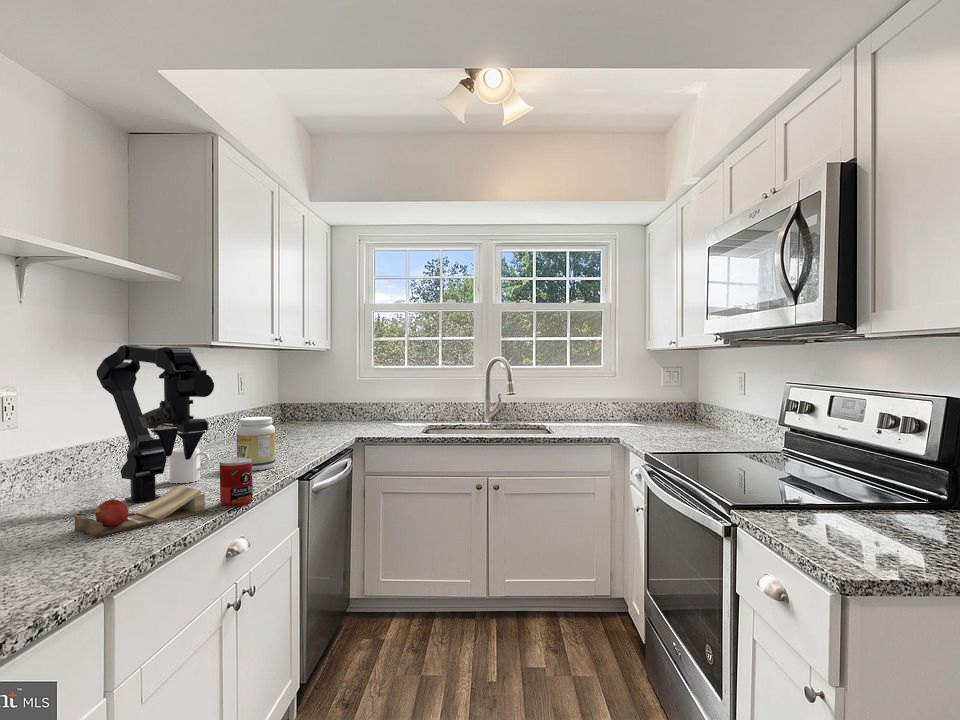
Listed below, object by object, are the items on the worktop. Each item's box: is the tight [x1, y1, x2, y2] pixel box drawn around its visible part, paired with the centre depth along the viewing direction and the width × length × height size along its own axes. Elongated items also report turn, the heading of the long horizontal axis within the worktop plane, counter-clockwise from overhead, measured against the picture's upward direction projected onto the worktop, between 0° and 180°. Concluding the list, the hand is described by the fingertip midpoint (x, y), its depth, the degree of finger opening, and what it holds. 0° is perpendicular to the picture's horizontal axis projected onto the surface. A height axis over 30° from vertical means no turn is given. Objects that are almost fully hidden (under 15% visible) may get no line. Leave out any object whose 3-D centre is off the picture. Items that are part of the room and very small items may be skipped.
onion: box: [94, 499, 129, 528], centre depth 123 cm, size 6×6×8 cm
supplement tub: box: [236, 416, 276, 472], centre depth 192 cm, size 12×12×17 cm
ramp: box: [135, 484, 206, 520], centre depth 136 cm, size 10×11×6 cm
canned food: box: [219, 457, 254, 508], centre depth 146 cm, size 8×8×11 cm
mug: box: [169, 446, 211, 485], centre depth 172 cm, size 8×12×10 cm
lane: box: [74, 508, 205, 539], centre depth 130 cm, size 11×23×3 cm, turn 146°
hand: (178, 457), depth 144 cm, fingers open, 9 cm apart
